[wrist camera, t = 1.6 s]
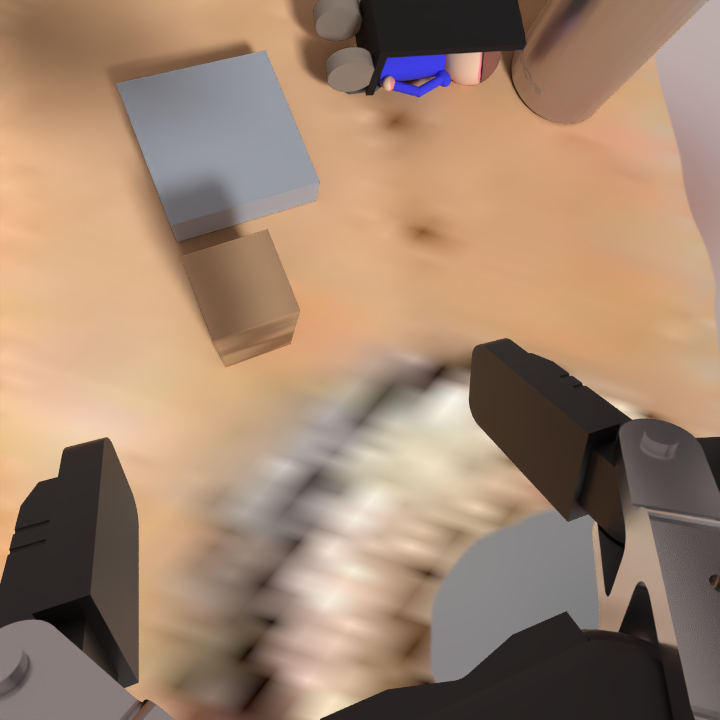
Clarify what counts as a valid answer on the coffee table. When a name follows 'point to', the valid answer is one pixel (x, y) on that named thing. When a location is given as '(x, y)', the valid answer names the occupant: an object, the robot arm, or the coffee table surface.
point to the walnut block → (243, 296)
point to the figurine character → (416, 42)
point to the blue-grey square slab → (220, 143)
